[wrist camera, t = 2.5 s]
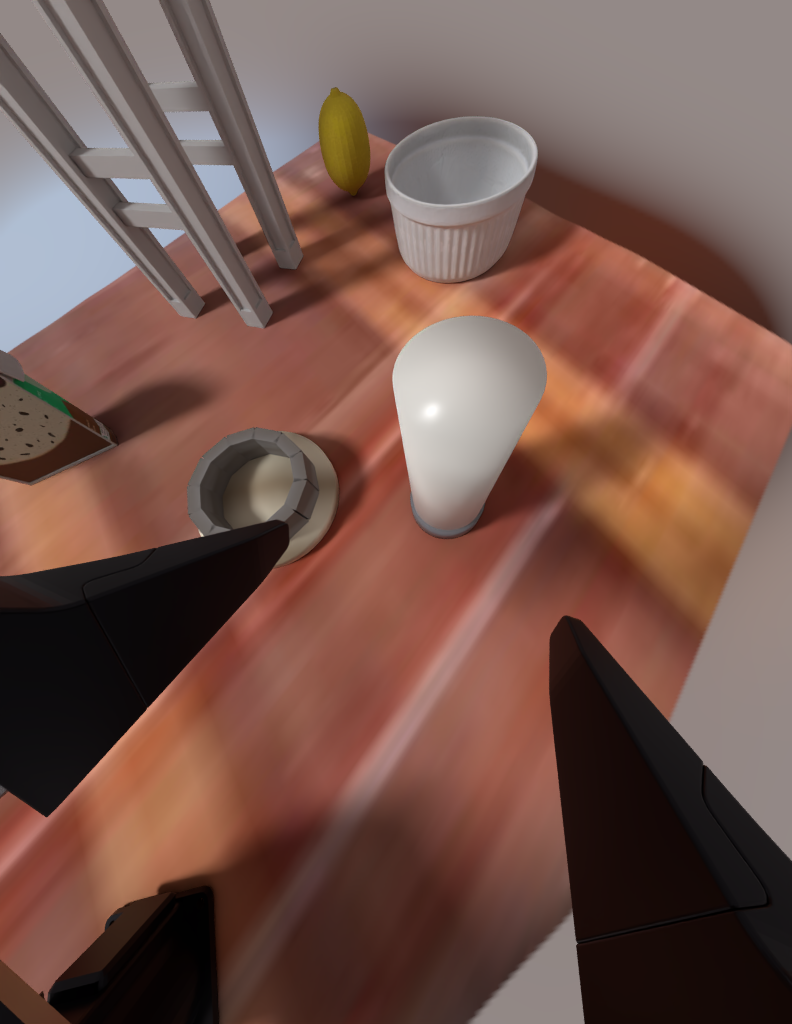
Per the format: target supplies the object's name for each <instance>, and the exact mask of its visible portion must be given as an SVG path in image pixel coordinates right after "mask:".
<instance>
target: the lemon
mask: <svg viewBox="0 0 792 1024" xmlns="http://www.w3.org/2000/svg"><path fill="white" fill-rule="evenodd" d="M319 139H320V147H321V152H322V156H323V160H324V163H325V166H326V169H327V171H328V174H329V176H330V177H331V179H332V180H333V182H334V183H335V184H336V185H337V186H338V187H339V188H340V189H342V190H344V191H348V192H349V193H350V194H351V195H352V196H354V195H356V194H357V192H358V189H359V188H360V187H361V186H362V185H363V184H364V182H365V180H366V178H367V175H368V172H369V168H370V146H369V138H368V133H367V129H366V125H365V122H364V118H363V116H362V113H361V111H360V109H359V107H358V105H357V104H356V103H355V102H354V100H353V99H352V98H351V97H350V96H348V95H347V94H345V93H343V92H340V91H339V89H338V88H336V87H335V88H332V89H331V92H330V95H329V96H328V97H327V99H326V100H325V101H324V103H323V105H322V108H321V111H320V116H319Z"/></svg>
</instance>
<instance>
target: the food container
mask: <svg viewBox="0 0 792 1024" xmlns="http://www.w3.org/2000/svg"><path fill="white" fill-rule="evenodd" d="M115 446H118V443H117V439H116V436H115V435H114V434H113V432H112V431H111V430H110V428H108V427H107V426H105V425H103V424H102V423H100V422H99V421H97V420H96V419H94V418H93V417H91V416H89V415H88V414H86V413H85V412H83V411H82V410H80V409H79V408H77V407H75V406H74V405H72V404H71V403H69V402H68V401H66V400H65V399H63V398H61V397H60V396H58V395H57V394H55V393H54V392H52V391H50V390H49V389H47V388H46V387H44V386H43V385H41V384H40V383H38V382H36V381H35V380H33V379H32V378H30V377H29V376H27V375H26V374H24V372H23V369H22V366H21V364H20V363H19V362H18V360H17V359H16V358H14V357H13V356H12V355H10V354H8V353H6V352H3V351H1V350H0V478H2V479H6V480H10V481H15V482H19V483H23V484H27V485H33V484H35V483H37V482H40V481H42V480H44V479H46V478H48V477H50V476H53V475H55V474H57V473H59V472H61V471H63V470H66V469H68V468H70V467H72V466H74V465H76V464H79V463H81V462H83V461H85V460H87V459H89V458H92V457H94V456H96V455H98V454H100V453H102V452H105V451H107V450H109V449H111V448H113V447H115Z"/></svg>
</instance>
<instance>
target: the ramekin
mask: <svg viewBox="0 0 792 1024" xmlns="http://www.w3.org/2000/svg"><path fill="white" fill-rule="evenodd" d="M537 159H538V149H537V145H536V143H535V141H534V139H533V138H532V136H531V135H530V134H529V133H528V132H527V131H526V130H524V129H523V128H521V127H520V126H518V125H516V124H514V123H511V122H508V121H506V120H502V119H498V118H493V117H482V116H471V117H459V118H452V119H448V120H443V121H440V122H436V123H433V124H430V125H428V126H425V127H423V128H421V129H419V130H417V131H415V132H413V133H412V134H410V135H409V136H407V137H406V138H405V139H403V140H402V141H401V142H400V143H399V144H398V145H397V146H396V147H395V148H394V149H393V150H392V152H391V153H390V155H389V157H388V159H387V161H386V164H385V185H386V193H387V196H388V199H389V201H390V203H391V209H392V214H393V220H394V226H395V232H396V237H397V242H398V246H399V251H400V253H401V256H402V258H403V260H404V261H405V262H406V264H407V265H408V266H409V267H410V269H411V270H412V271H413V272H414V273H416V274H417V275H418V276H420V277H422V278H424V279H427V280H430V281H434V282H439V283H455V282H462V281H466V280H469V279H472V278H475V277H477V276H479V275H481V274H483V273H484V272H486V271H487V270H488V269H490V268H491V267H492V266H493V265H494V264H495V263H496V262H497V261H498V260H499V259H500V258H501V257H502V255H503V253H504V252H505V251H506V249H507V247H508V244H509V242H510V240H511V237H512V234H513V231H514V229H515V226H516V223H517V220H518V217H519V213H520V210H521V208H522V205H523V201H524V198H525V194H526V192H527V191H528V189H529V188H530V186H531V183H532V181H533V178H534V174H535V169H536V164H537Z"/></svg>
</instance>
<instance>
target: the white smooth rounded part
mask: <svg viewBox="0 0 792 1024" xmlns="http://www.w3.org/2000/svg"><path fill="white" fill-rule="evenodd" d="M546 380H547V371H546V364H545V361H544V357H543V355H542V353H541V351H540V349H539V348H538V346H537V345H536V343H535V342H534V341H533V340H532V339H531V338H530V337H529V336H528V335H527V334H525V333H524V332H523V331H522V330H520V329H518V328H517V327H515V326H513V325H511V324H509V323H507V322H504V321H501V320H498V319H494V318H490V317H483V316H461V317H455V318H450V319H446V320H443V321H440V322H437V323H435V324H433V325H431V326H428V327H427V328H425V329H423V330H422V331H420V332H419V333H418V334H416V335H415V336H414V337H413V338H412V339H411V340H410V341H409V342H408V343H407V344H406V345H405V346H404V348H403V349H402V350H401V352H400V354H399V356H398V358H397V360H396V363H395V366H394V370H393V389H394V395H395V401H396V406H397V412H398V418H399V423H400V429H401V435H402V440H403V446H404V452H405V457H406V463H407V469H408V474H409V480H410V486H411V497H410V500H411V507H412V511H413V516H414V518H415V520H416V522H417V524H418V525H419V527H420V528H421V529H422V530H423V531H425V532H426V533H428V534H429V535H431V536H433V537H436V538H440V539H453V538H458V537H460V536H463V535H464V534H466V533H468V532H469V531H470V530H471V529H472V528H473V527H474V526H475V524H476V523H477V521H478V519H479V518H480V516H481V514H482V512H483V510H484V506H485V501H486V499H487V497H488V495H489V494H490V492H491V490H492V488H493V486H494V484H495V482H496V481H497V479H498V477H499V475H500V473H501V471H502V470H503V468H504V466H505V464H506V462H507V460H508V459H509V457H510V455H511V453H512V451H513V449H514V448H515V446H516V444H517V442H518V440H519V438H520V437H521V435H522V433H523V431H524V429H525V427H526V426H527V424H528V422H529V420H530V418H531V416H532V415H533V413H534V411H535V409H536V407H537V405H538V404H539V402H540V400H541V398H542V395H543V393H544V390H545V386H546Z"/></svg>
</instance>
